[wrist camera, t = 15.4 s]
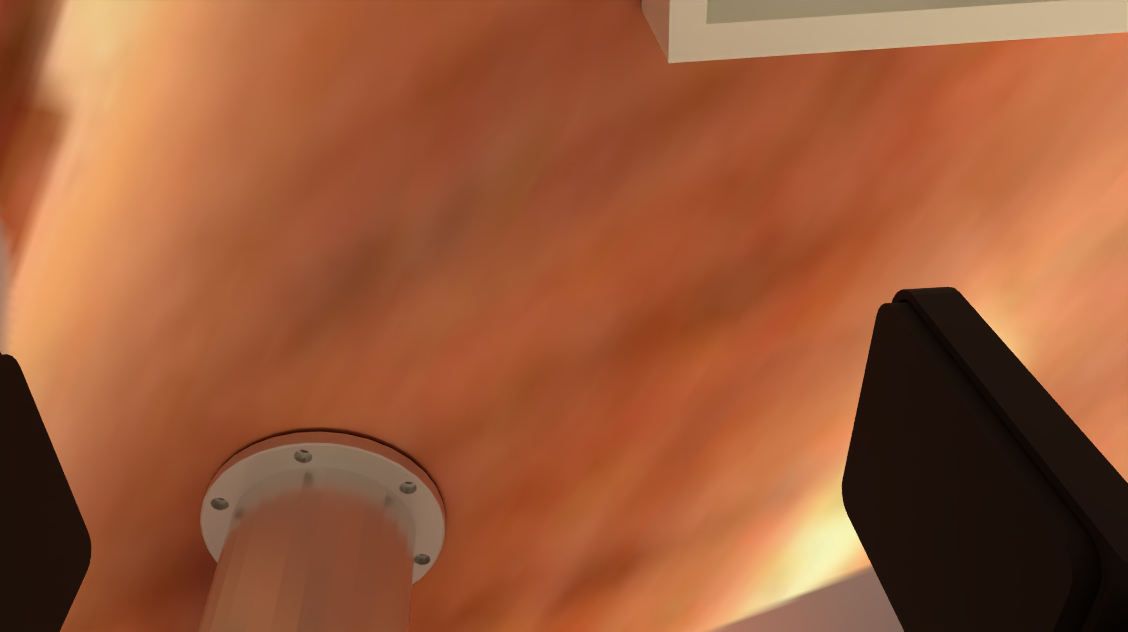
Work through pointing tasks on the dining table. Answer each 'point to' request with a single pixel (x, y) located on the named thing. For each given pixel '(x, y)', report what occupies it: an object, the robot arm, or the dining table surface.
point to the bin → (863, 24)
